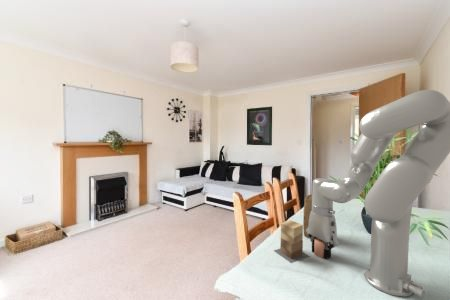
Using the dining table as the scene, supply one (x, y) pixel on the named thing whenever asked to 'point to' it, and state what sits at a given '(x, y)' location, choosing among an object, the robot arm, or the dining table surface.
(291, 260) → the mat
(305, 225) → the block
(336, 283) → the dining table surface
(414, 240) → the dining table surface
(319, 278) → the dining table surface
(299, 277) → the dining table surface
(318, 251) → the peach egg-shaped pebble
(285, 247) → the block
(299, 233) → the tower top
